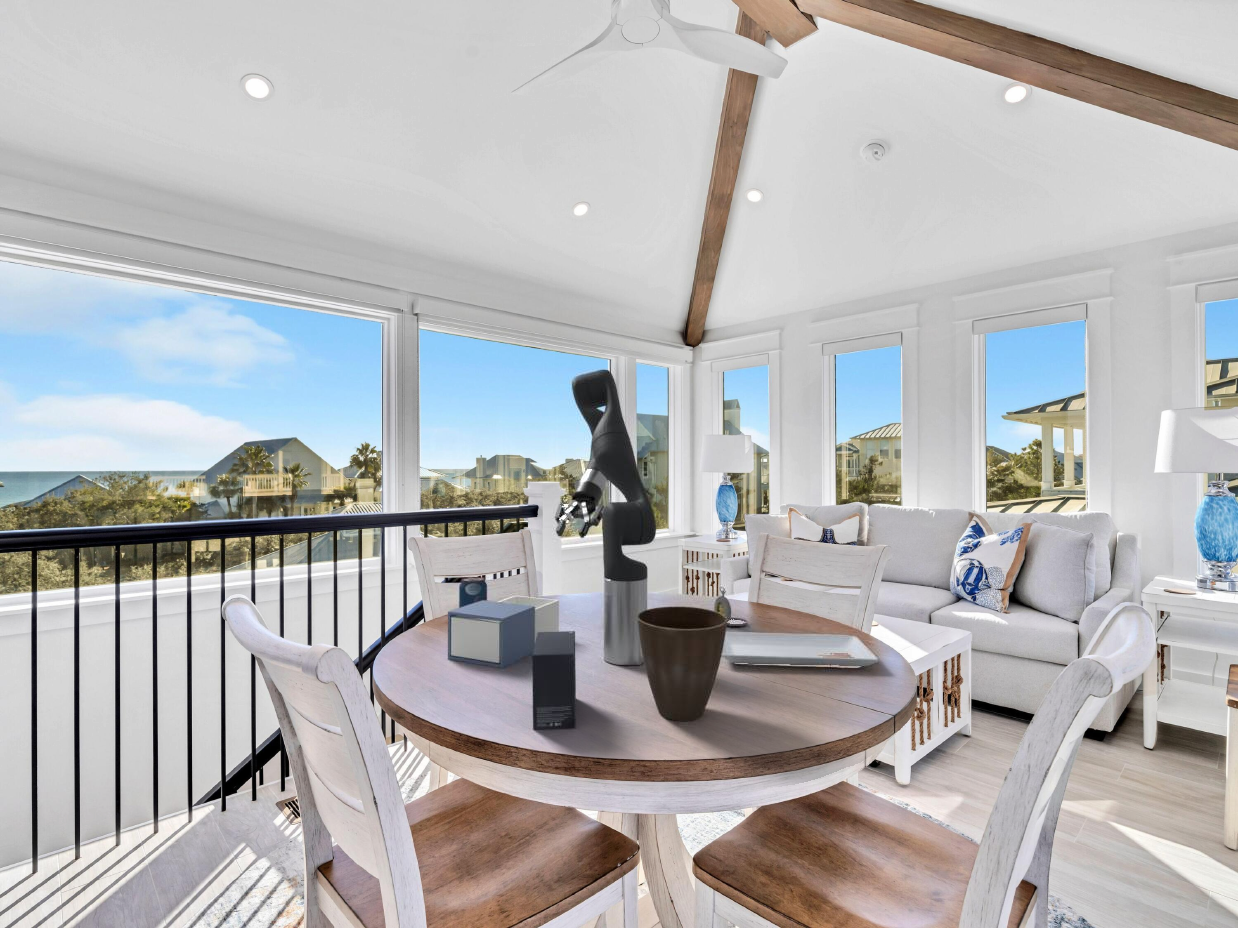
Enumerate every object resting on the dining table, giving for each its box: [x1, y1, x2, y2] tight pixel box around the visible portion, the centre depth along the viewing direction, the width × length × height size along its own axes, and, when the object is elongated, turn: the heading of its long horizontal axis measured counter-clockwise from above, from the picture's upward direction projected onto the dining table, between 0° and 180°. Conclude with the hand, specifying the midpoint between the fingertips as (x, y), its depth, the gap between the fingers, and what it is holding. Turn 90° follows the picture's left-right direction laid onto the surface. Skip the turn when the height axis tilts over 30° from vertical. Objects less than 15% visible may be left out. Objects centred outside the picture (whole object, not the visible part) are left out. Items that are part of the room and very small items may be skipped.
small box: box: [531, 630, 577, 731], centre depth 103 cm, size 13×7×12 cm, turn 4°
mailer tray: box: [451, 595, 560, 663], centre depth 139 cm, size 12×24×8 cm, turn 155°
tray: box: [721, 631, 879, 667], centre depth 133 cm, size 17×31×4 cm, turn 85°
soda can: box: [458, 576, 488, 608], centre depth 158 cm, size 7×7×12 cm
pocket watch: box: [713, 586, 748, 627], centre depth 160 cm, size 8×8×10 cm
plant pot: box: [637, 605, 728, 722], centre depth 103 cm, size 15×15×16 cm
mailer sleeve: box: [447, 600, 535, 669], centre depth 134 cm, size 14×12×10 cm
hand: (569, 535), depth 165 cm, fingers open, 6 cm apart
